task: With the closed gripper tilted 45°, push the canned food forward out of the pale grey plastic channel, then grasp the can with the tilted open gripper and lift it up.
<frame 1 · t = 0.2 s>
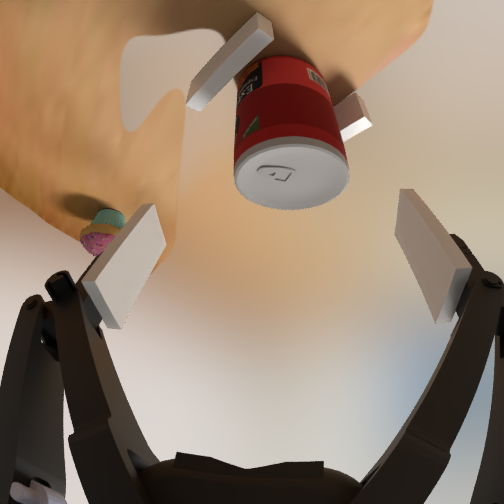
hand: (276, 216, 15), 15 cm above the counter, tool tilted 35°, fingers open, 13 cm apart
channel: (293, 77, 23), on the counter
canned food: (281, 85, 24), on the counter
cupcake: (110, 214, 45), on the counter
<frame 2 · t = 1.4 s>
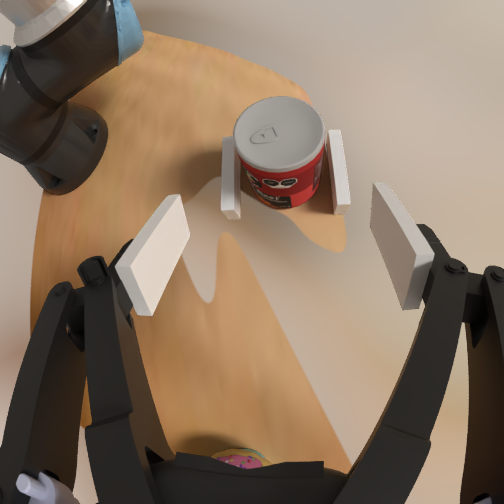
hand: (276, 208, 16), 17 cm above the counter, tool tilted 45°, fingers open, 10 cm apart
channel: (284, 168, 35), on the counter
canned food: (285, 180, 35), on the counter
cupcake: (246, 463, 29), on the counter
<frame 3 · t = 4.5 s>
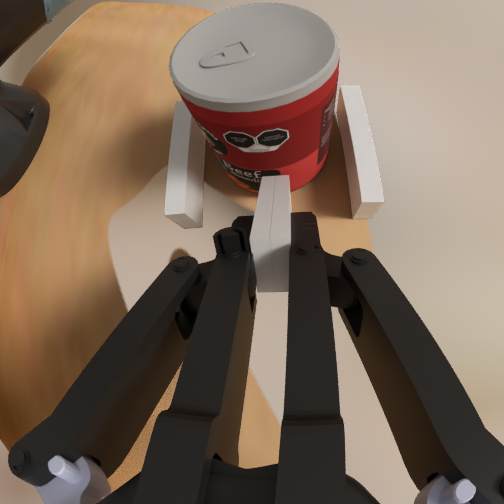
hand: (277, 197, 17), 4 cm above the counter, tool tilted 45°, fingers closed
channel: (272, 146, 22), on the counter
canned food: (275, 152, 22), on the counter, touching gripper
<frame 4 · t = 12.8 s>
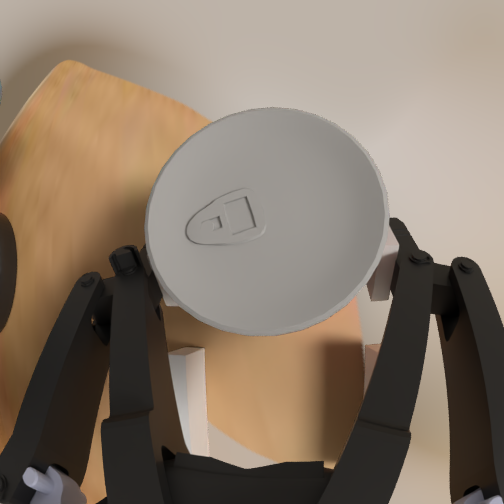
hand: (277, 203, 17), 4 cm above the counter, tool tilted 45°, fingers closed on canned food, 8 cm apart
channel: (284, 392, 18), on the counter
canned food: (282, 261, 20), on the counter, touching gripper
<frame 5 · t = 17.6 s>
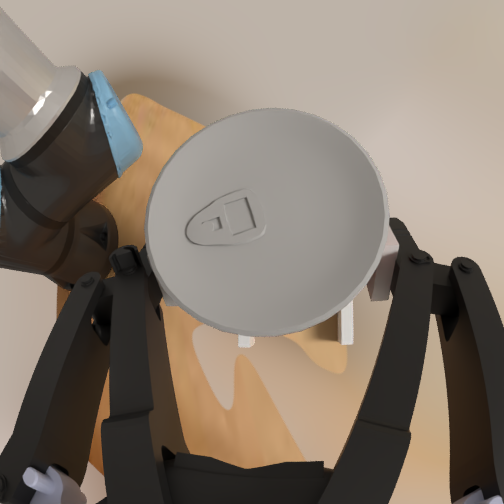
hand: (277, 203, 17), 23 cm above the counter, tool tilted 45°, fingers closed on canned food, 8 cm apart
channel: (295, 296, 38), on the counter
canned food: (282, 261, 20), point 19 cm above the counter, touching gripper
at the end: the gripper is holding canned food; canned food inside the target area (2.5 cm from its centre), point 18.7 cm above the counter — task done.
